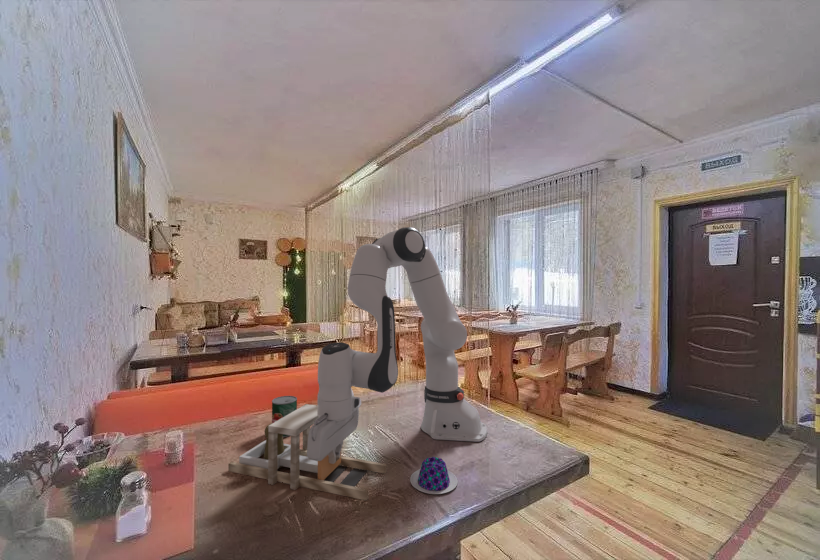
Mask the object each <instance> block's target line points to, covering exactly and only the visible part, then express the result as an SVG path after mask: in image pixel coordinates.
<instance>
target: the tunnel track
mask: <svg viewBox="0 0 820 560" xmlns="http://www.w3.org/2000/svg"><path fill="white" fill-rule="evenodd" d="M318 418H319V417H318V416H317V405H316V404H307V403H305V404H304V405H302V406H301V407H299V408H298V407H297V410H295V411H293V412H291V413H290V414H288V415H286V416H285V417H283V418H281V419H279V420H278V421H276V422H274V423H272V422H271V423H272V424H271V423H270V424H271V425H269V424H268V425H269V426H268V425H267V426H268V469H265V468H260V467H255V466H250V465H245V464H240V463H239V462H235V461H230V462H228V463H227V464H228V469H227V470H228V472H230V473H236V474H241V475H245V476H250V477H254V478H260V479H262V480H263V479H265V480H267V484H268V485H270V484H271V486H274V485H275V484H277V483H282V482H283V483H282V484H288V485H290V486H289V487H290V488H289V489H291V490H295V491H296V490H297V489H298V488H305V489H310V490H315V491H319V492H325V493H329V494H334V495H339V496H343V497H348V498H352V499H357V500H362V501H367V500H369V489H367V488H363V487H358V486H357V485H358V483H359V482H360V481H361V480H362V478H364V476H365V475H366V473H367V472H368V471H369V472H375V473H381V474H387V471H388V469H387V468H388V464H387V463H382V462H376V461H372V460H371V461H370V460H365V459H359V458H354V457H349V456H342V455H341V463H340V464H339V465H338V466H337V467H336V468H335V469H334V470H333V471H332V472H331V473H330V474H329V475H328V476H327V478H326V479H325V480H319V479H318V478H314V477H308V476H303V475H300V470H299V463H300V455H301V456H306V457H307V445H308V436H309V431H310V428H311V427H312V426H313V425H314V422H315V420H316V419H318ZM277 433H279V434H285V435H291V436H290V445H291V464H290V472H289V473H288V472H283V471H279V470H278V469H277ZM301 433H302V448H301V446H300V440H301V439H300V436H301V435H300V434H301ZM347 468H352V469H351V470H350V471H349V473H348V474H347V475H346V476H345V477H344V478H343V479H342V481H341V482H335V481H336V480H337V479H338V478H339V477H340V476H341V474H342V473H344V471H345V470H346V469H347ZM277 481H278V482H277Z"/></svg>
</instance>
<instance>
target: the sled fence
mask: <svg viewBox="0 0 820 560" xmlns="http://www.w3.org/2000/svg"><path fill="white" fill-rule="evenodd" d="M265 446H266V440H264V441H261V442H260V443H258V444H257V445H255V446H254V447H253V448H250V449H249V450H247V451H246V452H244V453H243V454H241V455H240V456H238V457H239V458H238V463H240V464H245V465H250V466H255V467H260V468H265V469H268V460H266V459H264V458H260V457H261V456H264V453H265ZM341 456H342V451H341V452H340V458H339V459H338V460H337V461H336V462H335V463H334V464H331V463H329V456H328V455H327V456H326V457H325V458H324V459H322V460H321V461H315V460H310V459H309V458H308V457H306V456H301V455H300V463H299V471H300V470H301V471H304V472H305V471H306V472H309V473H316V474H317V479H319V480H325V479H326V478H327V476H328V475H329V474H330V473H331V472H332V471H333V470H334V469H335V468H336V467H337V466H338V465H339V464H340V463H341ZM290 464H291V444H288V443H284V452H283V453H282V454H280V455H277V470H279V469H280V468H279V467H280V466H283V467H285V468H290ZM278 468H279V469H278Z"/></svg>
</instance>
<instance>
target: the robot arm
mask: <svg viewBox="0 0 820 560" xmlns="http://www.w3.org/2000/svg"><path fill="white" fill-rule="evenodd" d="M424 239H425V238H423V236H422V234H421V233H420V231H418V229H416V228H414V227H408V226H407V227H406V226H405V227H402V228H399V229H396V230H392V231H390V232H388V233H386V234H385V235H383V236H381V237H379V238H377V239H375V240H374V241H373V242H372V243H366V244H362V245H361V246H360V247H358V248H357V250H356V253H355V255H354V258H353V261H352V265H351V267H350V268H351V269H350V272H349V277H348V284H347V295H348V297H349V299H350V301H351V302H352V303H353V305H355V306H356V307H357V308H359V309H361V310H363V311H365V312H367V313H369V314H370V315H371V316H373V317H374V319H375V321H376V326H377V328H376V330H377V332H376V333H377V334H376V335H377V337H376V338H377V351H376V352H367V351H366V352H365V351H360V350H355V349H353V348H351V346H350V345H349V344H348V343H346V342H341V341H340V342H333V343H329V344H326V345H325V346H323V347H322V348H321V350H320V353H319V357H318V363H317V364H318V366H317V384H318V392H317V400H316V402H317V416H318V417H319V418H318V419H316V420H315V422H314V424H313V425H311V426H310V431H309V436H308V445H307V457H308V458H309V459H310V460H315V461H321V460H322V459H324V458H325V457H326V456H327V455H328V456H329V463H331V464H334V463H335V462H336V461H337V460H338V459H339V458H340V452H341V453H342V447H343V444H344V440H346V439H347V438H349V436H350V435H351V434H352V433H354V431H356V430H357V428H358V425H359V414H360V413H359V412H360V411H359V410H360V409H359V408H360V407H359V408H358V406H359V404H360V399H361V398H360V397H359V396H355V395H354V396H352V391H353V389H352V390H351V388H352V387H354V388H360V389H361V388H362V389H366V390H367V389H368V390H371V391H372V392H373V391H374V392H377V393H382V394H383V393H386V392H387V391H389V390H390V389H391V388H392V387H394V385H396V383H397V382H398V381H397V380H398V376H399V366H398V365H399V364H398V360H397V351H396V349H397V348H396V347H397V346H396V343H397V342H396V317H395V308H394V303H393V300H392V298H390V297H389V296H388V294H387V289H386V283H387V276H388V270H389V269H390V268H395V267H400V266H402V267H403V269H404V270H405V271H406V276H407V278H408V281H409V285H410V288H411V291H412V295H413V297H414V301H415V303H416V306H417V307H418V308H419V310H420V313H421V315H422V316H423V319H422V321H421V323H420V331H421V334H422V342H423V343H422V344H423V352H424V357H425V386H424V392H423V396H424V398H423V399H424V403H425V404H424V412H423V417H422V421H421V425H420V429H421V430H422V431H423V433H426V434H427V435H429V436H430V437H431V438H432V439H434V440H438V441H439V440H441V441H458V442H459V441H461V442H477V443H478V442H481V441H483V440H485V439H486V438H487V435H488V426H487V425H486V423H484V422H482V421H481V417H480V416H481V415H480V412H479V411H478V409H477V408H476V407H475V406H473V405H472V404H471V403H470V402H468V401H467V400H466V399H465V389H464V388H461V387H459V363H458V360H457V357H456V354H455V351H457V350H459V349H461V348H462V347H463V346H464V345H465V344H466V342H467V339H468V331H467V328H466V326H465V325H464V324H463V321H461V319H460V317H459V315H458V312H457V311H456V309H455V307H454V304H453V303H452V301H451V299H450V297H449V295H448V291H447V289H446V287H445V283H444V280H443V277H442V275H441V274H442V273H441V271H440V268H439V265H438V264H437V261H436V259H435V256H434V254H433V253H432V251H431V250H430V248H429V247H428V246H427V245H426V243H425V240H424Z"/></svg>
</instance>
